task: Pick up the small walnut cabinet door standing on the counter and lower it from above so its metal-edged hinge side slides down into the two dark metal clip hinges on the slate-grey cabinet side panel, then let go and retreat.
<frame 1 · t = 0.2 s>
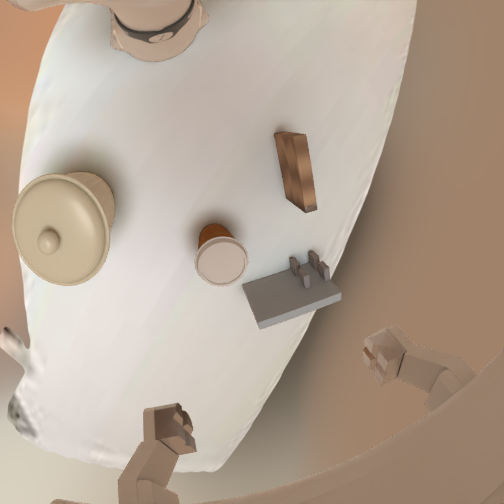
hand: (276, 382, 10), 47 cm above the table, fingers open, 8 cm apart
disposable coffee cup: (214, 237, 58), on the table
walnut door: (285, 165, 55), on the table
canister: (86, 202, 48), on the table
cabinet side: (297, 234, 63), on the table
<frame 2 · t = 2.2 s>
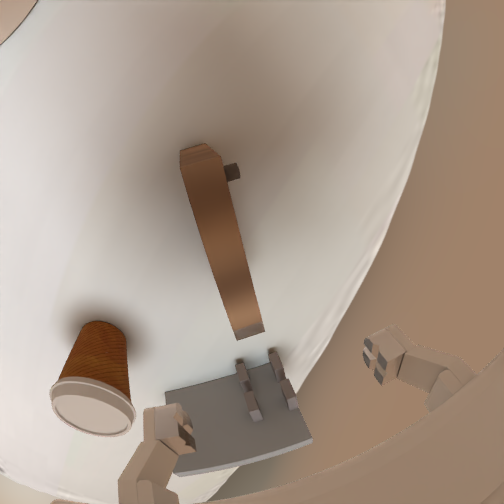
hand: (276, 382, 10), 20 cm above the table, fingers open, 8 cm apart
disposable coffee cup: (103, 338, 31), on the table
walnut door: (211, 215, 27), on the table
cabinet side: (246, 329, 35), on the table
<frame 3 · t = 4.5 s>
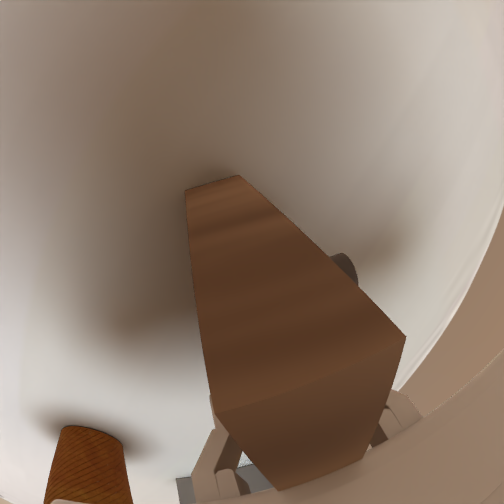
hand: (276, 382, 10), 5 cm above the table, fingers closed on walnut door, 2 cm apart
disposable coffee cup: (91, 439, 18), on the table
walnut door: (247, 309, 15), on the table, touching gripper
cabinet side: (284, 428, 22), on the table
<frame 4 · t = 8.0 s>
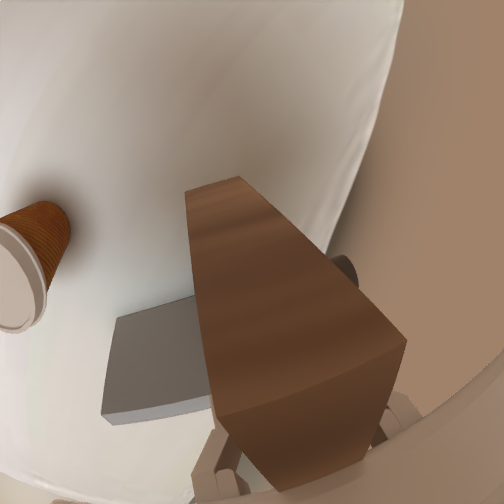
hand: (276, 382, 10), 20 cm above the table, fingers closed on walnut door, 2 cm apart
disposable coffee cup: (47, 228, 24), on the table
walnut door: (247, 310, 15), point 15 cm above the table, touching gripper
cabinet side: (213, 217, 28), on the table
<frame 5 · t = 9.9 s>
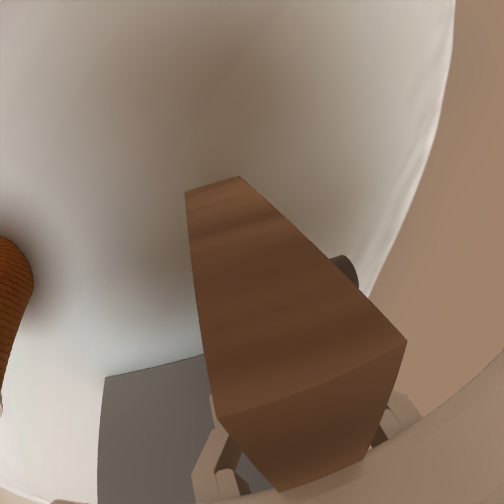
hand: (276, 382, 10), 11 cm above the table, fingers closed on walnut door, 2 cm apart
disposable coffee cup: (5, 270, 15), on the table
walnut door: (247, 310, 15), point 6 cm above the table, touching gripper
cabinet side: (229, 259, 20), on the table
when the fingers open (7 cm above the table, at t = 11.6 s): walnut door drops 1 cm, on the table.
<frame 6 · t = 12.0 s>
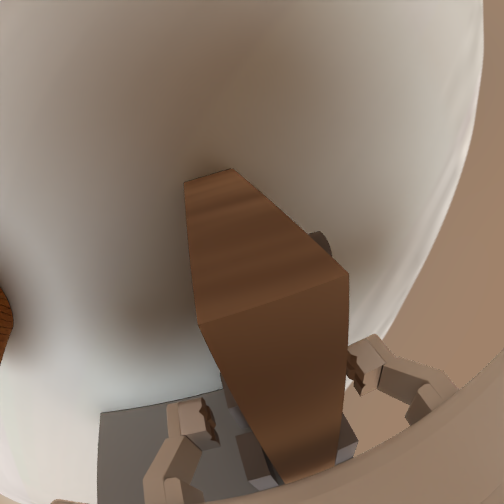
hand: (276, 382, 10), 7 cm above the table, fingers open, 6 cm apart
walnut door: (241, 293, 16), on the table
cabinet side: (242, 294, 16), on the table
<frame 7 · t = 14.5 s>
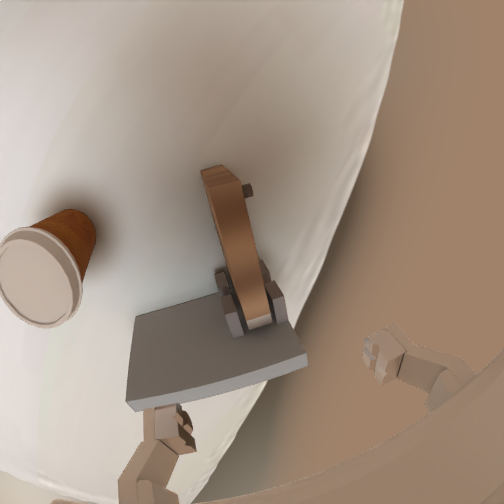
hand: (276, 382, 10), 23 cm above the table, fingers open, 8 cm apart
disposable coffee cup: (73, 234, 28), on the table
walnut door: (226, 225, 32), on the table
cabinet side: (226, 226, 32), on the table
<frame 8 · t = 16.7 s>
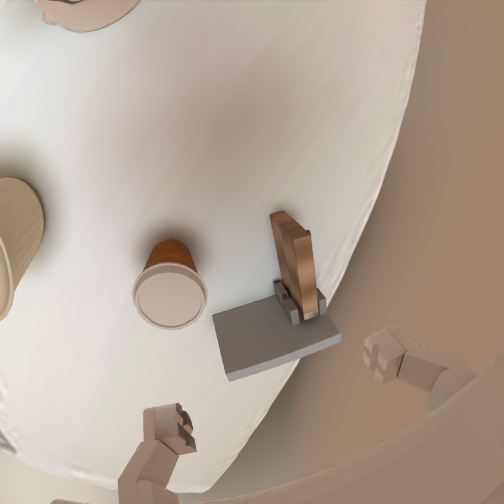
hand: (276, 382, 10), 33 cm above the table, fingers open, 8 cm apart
disposable coffee cup: (170, 257, 43), on the table
walnut door: (283, 250, 47), on the table
canister: (17, 214, 32), on the table
cabinet side: (284, 251, 47), on the table
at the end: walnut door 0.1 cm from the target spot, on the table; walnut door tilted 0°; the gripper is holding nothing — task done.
